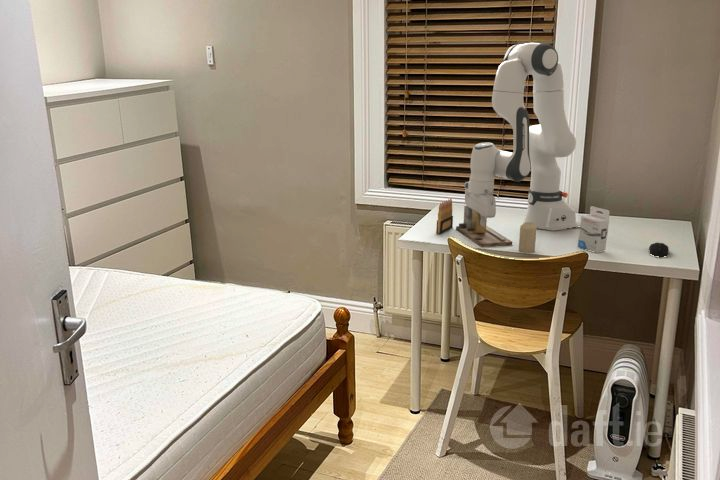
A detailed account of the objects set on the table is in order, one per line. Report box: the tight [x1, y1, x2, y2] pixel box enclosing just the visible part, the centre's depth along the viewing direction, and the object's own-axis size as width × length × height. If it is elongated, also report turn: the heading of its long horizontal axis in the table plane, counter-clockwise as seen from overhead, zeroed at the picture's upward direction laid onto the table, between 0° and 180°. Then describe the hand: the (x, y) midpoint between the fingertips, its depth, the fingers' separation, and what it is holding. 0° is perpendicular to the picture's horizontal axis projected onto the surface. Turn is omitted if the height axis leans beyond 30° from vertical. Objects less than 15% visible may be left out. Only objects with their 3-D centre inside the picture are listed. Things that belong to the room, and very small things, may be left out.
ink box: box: [577, 205, 610, 254], centre depth 240 cm, size 9×5×15 cm, turn 33°
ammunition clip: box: [435, 198, 454, 235], centre depth 262 cm, size 11×2×12 cm, turn 147°
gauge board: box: [455, 205, 513, 248], centre depth 255 cm, size 12×24×9 cm, turn 14°
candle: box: [518, 222, 538, 253], centre depth 239 cm, size 6×6×10 cm
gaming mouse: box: [648, 242, 670, 257], centre depth 237 cm, size 6×15×4 cm, turn 157°
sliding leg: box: [467, 210, 488, 233], centre depth 256 cm, size 6×4×8 cm, turn 104°
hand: (479, 223), depth 256 cm, fingers closed on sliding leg, 4 cm apart
